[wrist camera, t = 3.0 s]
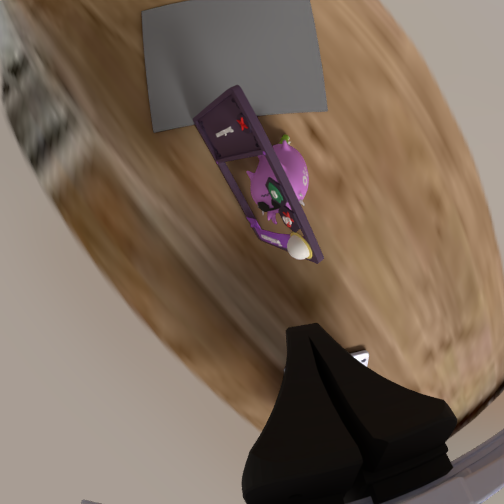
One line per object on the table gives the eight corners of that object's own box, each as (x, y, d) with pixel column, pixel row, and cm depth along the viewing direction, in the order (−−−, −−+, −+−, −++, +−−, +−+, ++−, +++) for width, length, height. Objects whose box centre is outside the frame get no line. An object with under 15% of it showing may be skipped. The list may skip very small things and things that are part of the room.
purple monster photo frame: (215, 93, 10) (308, 274, 14) (309, 57, 11) (376, 216, 15) (181, 125, 16) (250, 245, 20) (250, 91, 17) (307, 205, 21)
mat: (326, 111, 17) (327, 111, 17) (154, 132, 17) (153, 132, 16) (306, -6, 14) (308, -8, 13) (142, 13, 13) (141, 11, 13)
